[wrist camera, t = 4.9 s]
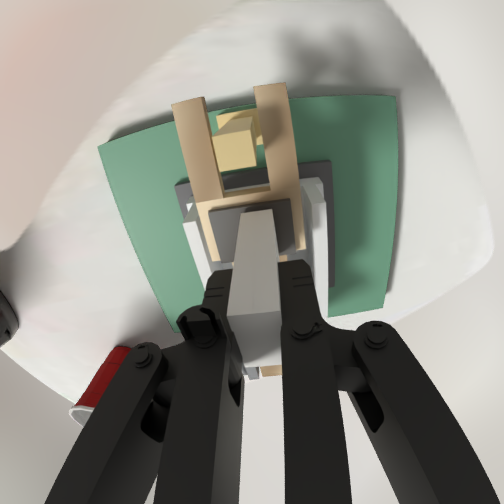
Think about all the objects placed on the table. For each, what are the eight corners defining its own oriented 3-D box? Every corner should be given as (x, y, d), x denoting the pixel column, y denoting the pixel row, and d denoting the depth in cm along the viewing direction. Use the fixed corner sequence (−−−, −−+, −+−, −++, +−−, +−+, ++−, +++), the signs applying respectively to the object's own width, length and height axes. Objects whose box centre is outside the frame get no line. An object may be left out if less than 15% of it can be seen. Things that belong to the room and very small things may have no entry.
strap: (250, 370, 22) (250, 380, 21) (175, 103, 11) (169, 104, 10) (310, 363, 22) (311, 374, 21) (283, 83, 11) (286, 82, 10)
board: (177, 322, 29) (158, 394, 21) (106, 142, 18) (31, 182, 11) (378, 298, 27) (408, 368, 19) (386, 95, 16) (465, 109, 8)
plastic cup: (180, 377, 36) (167, 452, 26) (124, 378, 38) (105, 441, 27) (141, 330, 30) (112, 417, 20) (83, 335, 32) (52, 404, 22)
